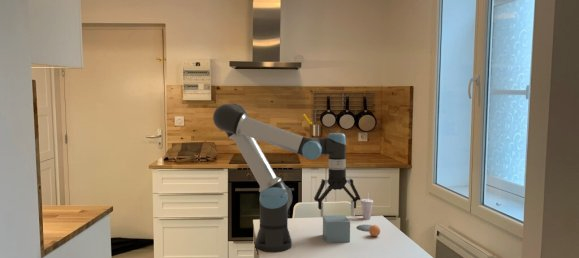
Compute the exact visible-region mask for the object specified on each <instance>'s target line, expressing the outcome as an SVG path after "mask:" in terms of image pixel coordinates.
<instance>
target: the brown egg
mask: <svg viewBox="0 0 579 258" xmlns="http://www.w3.org/2000/svg"><path fill="white" fill-rule="evenodd" d="M371 225H372V226H371V227H370V228H369V231H368V233H369V234H370V236H372V237H379V235H380V234H381V228H380V227H379V226H378V225H376V224H371Z"/></svg>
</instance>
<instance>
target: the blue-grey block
mask: <svg viewBox="0 0 579 258" xmlns="http://www.w3.org/2000/svg"><path fill="white" fill-rule="evenodd" d="M322 236H323V238H324V240H325V242H326V243H350V242H351V221H350V219H348V217H347V216H346V215H323V217H322Z"/></svg>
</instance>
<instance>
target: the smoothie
mask: <svg viewBox="0 0 579 258" xmlns="http://www.w3.org/2000/svg"><path fill="white" fill-rule="evenodd" d="M369 194H370V192H368V191H367V198H363V199H360V203H361V211H362V219H363V220H365V219H366V221H367V220H369V221H370V220H371V217H372V209H373V203H374V200H373V199H370V198H369V197H370V195H369Z"/></svg>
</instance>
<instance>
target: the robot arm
mask: <svg viewBox="0 0 579 258" xmlns="http://www.w3.org/2000/svg"><path fill="white" fill-rule="evenodd" d="M212 121H213V124H214V125H215V127H216V128H217V129H218V130H220V131H223V132H224V133H225V134H226V135H227V137H228V139H229V140H233V142H235V144H236V147H237V149H239V152H240V153H241V155H242V157H243V159H244V160H245V162H246V164H247V166H248V168H249V169H250V171H251V173H252V174H253V177H254V178H255V180H256V182H257V183H258V185H259V190H258V192H259V197H258V198H259V228H258V232H257V234H256V238H255V241H254V243H255V244H254V245H255V246H254V247H255V248H256V249H257V250H260V251H263V252H268V253H276V252H277V253H278V252H283V251H286V250H289V249H290V248H292V243H293V242H292V238H291V234H290V231H289V228H288V226H289V225H288V220H289V218H288V215H289V214H288V212H289V209H290V207H291V206H292V203H293V193H292V191H291V189H290V187H289V186H287V185H286V184H285V182H284V180H283V179H282V177H279V176H277V175H276V173H275V172H274V171H275V170H274V169H273V168H272V165H271V164H270V162H269V160H268V159H267V157H266V155H265V154H264V152H263V151H262V149H261V147H260V145H259V143H258V141H261V142H263V143H267V144H268V145H272V146H275V147H276V148H280V149H282V150H285V151H289V152H292V153H295V154H297V155H299V156H303V157H304V158H305V159H307V160H312V161H313V160H316V159H318V158H319V157H320V156H328V168H329V169H328V178H327V179H324V178H322V179H321V181H320V185H319V187H318V189H317V191H316V193H315V196H314V197H313V198H314V201H315V202H318V203H317V208H318V209H319V210H320V217H321V218H323V216H324V202H323V200H324V199H325V198H326V197H327V196H328V195H329V194H330V192H331V191H332V190H334V191H337V190H338V191H339V190H340V191H341V190H343V191H345V192H346V194H347V195H348V196H349V197H350V198H351V200H350V216H351V217H355V209H356V208H357V201H361V196H360V195H359V192H358V190H357V189H356V187H355V185H354V180H353V179H352V178H349V179H347V177H346V176H347V170H346V167H347V163H346V162H347V161H346V158H347V152H346V151H347V141H346V135H345V134H344V133H342V132H334V133H333V132H330V133H328V136H327V137H306V136H303V135H300V134H297V133H294V132H292V131H288V130H286V129H282V128H280V127H278V126H275V125H271V124H268V123H267V122H262V121H260V120H257V119H254V118H252V117H249V116H248V114H247V111H246V109H245V108H244V107H243V106H241V105H239V104H237V103H226V104H225V103H224V104H221V105H219V106H218V107H217V108H215V111H213V115H212ZM327 184H328V187H327V188H326V189H325V190H323V189H324V187H325V186H326V185H327ZM346 184H348V185H349V186H350V187H351V190H352V191H353V194H354V195H353V194H352V193H351V191H350V190H349V189H348V188H347V187H346ZM323 191H324V192H323ZM322 192H323V193H322Z"/></svg>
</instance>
